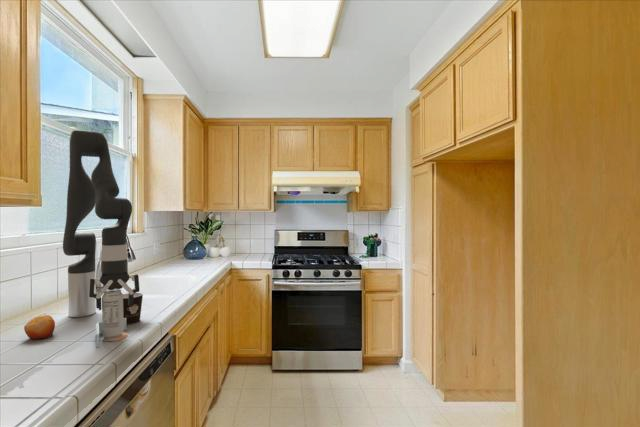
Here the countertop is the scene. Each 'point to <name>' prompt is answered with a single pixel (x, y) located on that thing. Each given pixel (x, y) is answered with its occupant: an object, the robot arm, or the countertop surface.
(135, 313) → the coffee mug
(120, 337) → the pad
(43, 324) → the fruit
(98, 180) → the robot arm
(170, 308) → the countertop surface
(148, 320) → the countertop surface
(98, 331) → the acrylic fence
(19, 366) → the countertop surface
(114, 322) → the energy drink can
